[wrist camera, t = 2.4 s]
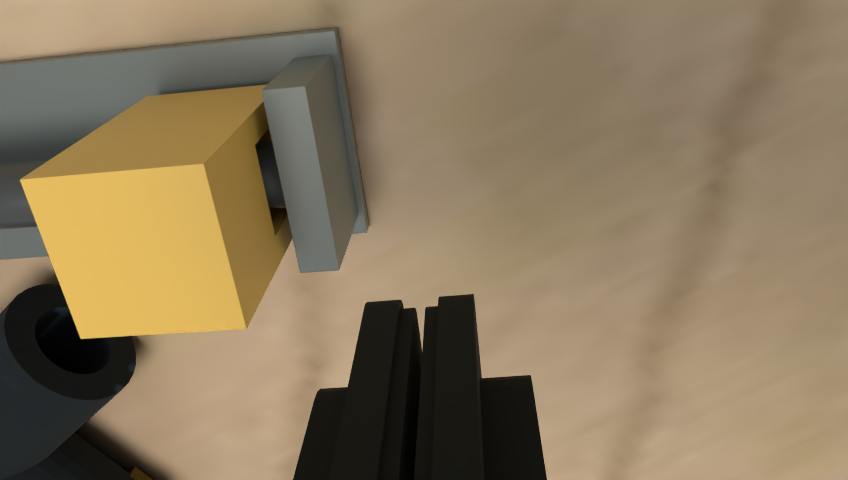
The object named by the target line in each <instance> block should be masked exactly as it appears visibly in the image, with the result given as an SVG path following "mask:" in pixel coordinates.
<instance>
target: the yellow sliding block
mask: <svg viewBox="0 0 848 480" xmlns="http://www.w3.org/2000/svg"><path fill="white" fill-rule="evenodd" d="M265 86H266V85H257V86H247V87H236V88H226V89H216V90H205V91H195V92H185V93H174V94H164V95H154V96H146V97H145V98H143V99H142V100H140V101H139V102H137V103H136V104H134V105H133V106H131V107H130V108H128V109H127V110H125V111H124V112H122V113H120V114H119V115H117V116H116V117H114V118H113V119H111V120H110V121H108V122H107V123H105V124H104V125H102V126H101V127H99V128H98V129H96V130H95V131H93V132H92V133H90V134H88V135H87V136H85V137H84V138H82V139H81V140H79V141H78V142H76V143H75V144H73V145H72V146H70V147H69V148H67V149H66V150H64V151H63V152H61V153H59V154H58V155H56V156H55V157H53V158H52V159H50V160H49V161H47V162H46V163H44V164H43V165H41V166H40V167H38V168H37V169H35V170H34V171H32V172H31V173H29V174H27V175H26V176H24V177H23V178H21V179H20V182H21V184H22V187H23V190H24V192H25V195H26V197H27V200H28V203H29V205H30V208H31V210H32V213H33V216H34V218H35V221H36V223H37V226H38V229H39V231H40V234H41V237H42V239H43V242H44V244H45V247H46V250H47V252H48V255H49V257H50V260H51V263H52V265H53V268H54V270H55V273H56V276H57V278H58V281H59V283H60V286H61V289H62V291H63V294H64V297H65V299H66V302H67V304H68V307H69V310H70V312H71V315H72V317H73V320H74V323H75V325H76V328H77V330H78V333H79V336H80V338H81V339H88V338H104V337H121V336H137V335H154V334H170V333H187V332H204V331H220V330H237V329H247V327H248V325H249V323H250V321H251V319H252V317H253V315H254V313H255V311H256V309H257V307H258V305H259V303H260V301H261V299H262V297H263V295H264V293H265V291H266V289H267V287H268V285H269V283H270V282H271V280H272V278H273V276H274V274H275V272H276V270H277V268H278V266H279V264H280V262H281V260H282V258H283V256H284V254H285V252H286V250H287V248H288V246H289V244H290V242H291V240H292V238H293V237H292V233H291V228H290V223H289V219H288V214H287V209H286V207H283V208H270V209H269V206H268V201H267V197H266V192H265V188H264V184H263V179H262V175H261V170H260V166H259V161H258V157H257V152H256V148H255V144H256V143H257V142H264V141H272V139H271V134H270V129H269V125H268V120H267V115H266V110H265V106H264V101H263V96H262V92H261V90H262V89H263V88H264V87H265Z"/></svg>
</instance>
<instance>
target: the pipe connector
mask: <svg viewBox="0 0 848 480" xmlns="http://www.w3.org/2000/svg"><path fill="white" fill-rule="evenodd" d="M135 365H136V353H135V348H134V343H133V341H132V338H131V336H121V337H104V338H88V339H81V338H80V336H79V333H78V330H77V328H76V325H75V323H74V320H73V317H72V315H71V312H70V310H69V307H68V304H67V302H66V299H65V297H64V294H63V291H62V289H61V286H60V285H54V284H46V285H39V286H35V287H32V288H29V289H26V290H25V291H23V292H22V293H20V294H19V295H17V296H16V297H15V298H14V300H13V301H12V302H11V303H10V304H9V305H8V306H7V307H6V308H5V309H4V310H3V311H2V312H1V314H0V480H152V479H151V478H149V477H148V476H147V475H145V474H144V473H143V472H141V471H140V470H139V469H137V468H136V467H135V468H133V469H132V470H131V471H130V472H129V473H128V472H127V471H126V470H124V469H123V468H122V467H120V466H119V465H117V464H116V463H115V462H113V461H112V460H111V459H109V458H108V457H107V456H105V455H104V454H103V453H101V452H100V451H99V450H97V449H96V448H95V447H93V446H92V445H91V444H89V443H88V442H87V441H85V440H84V439H83V438H81V437H80V436H79V435H77V434H76V433H75V431H77V430H78V429H79V428H80V427H81V426H82V425H83V424H84V423H85V422H87V421H88V420H89V419H90V418H91V417H92V416H93V415H94V414H95V413H96V412H98V411H99V410H100V409H101V408H102V407H103V406H104V405H105V404H106V403H108V402H109V401H110V400H111V399H112V398H113V397H114V396H115V395H116V394H117V393H119V392H120V391H121V390H122V389H123V388H124V387H125V386H126V385H127V384H128V383H129V381H130V379H131V377H132V375H133V373H134V369H135Z"/></svg>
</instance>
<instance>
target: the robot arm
mask: <svg viewBox="0 0 848 480" xmlns="http://www.w3.org/2000/svg"><path fill="white" fill-rule="evenodd" d="M293 480H547V478H546V471H545V464H544V458H543V451H542V445H541V438H540V432H539V425H538V418H537V412H536V405H535V399H534V392H533V385H532V380H531V376H530V375H526V376H511V377H496V378H482V376H481V366H480V355H479V344H478V334H477V323H476V312H475V302H474V294H470V295H457V296H443V297H439V300H438V306H434V307H426V309H425V322H424V337H423V352H422V348H421V340H420V333H419V326H418V318H417V312H416V309H415V308H407V309H404V308H403V303H402V301H401V300H390V301H377V302H367V303H366V304H365V307H364V312H363V317H362V321H361V326H360V331H359V336H358V341H357V345H356V350H355V355H354V360H353V365H352V369H351V374H350V379H349V384H348V387H343V388H328V389H320V390H319V391H318V392H317V394H316V397H315V400H314V403H313V407H312V411H311V415H310V418H309V422H308V426H307V430H306V433H305V437H304V441H303V445H302V448H301V452H300V456H299V460H298V463H297V467H296V471H295V475H294V478H293Z"/></svg>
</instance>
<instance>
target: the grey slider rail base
mask: <svg viewBox="0 0 848 480" xmlns="http://www.w3.org/2000/svg"><path fill="white" fill-rule="evenodd" d="M257 85H266V86H265V87H264V88H263V89H262V90H261V92H262V96H263V101H264V106H265V110H266V115H267V120H268V125H269V129H270V134H271V139H272V141H264V142H257V143H256V144H255V148H256V152H257V157H258V161H259V166H260V170H261V175H262V179H263V184H264V188H265V192H266V197H267V201H268V206H269V209H270V208H283V207H286V209H287V214H288V219H289V223H290V228H291V233H292V237H293V242H294V247H295V252H296V256H297V261H298V266H299V270H300V273H307V272H322V271H337V270H339V269H340V266H341V263H342V260H343V257H344V255H345V252H346V249H347V246H348V243H349V240H350V237H351V234H355V233H367V230H368V227H369V223H368V216H367V210H366V204H365V198H364V191H363V185H362V179H361V173H360V166H359V160H358V154H357V147H356V141H355V135H354V129H353V122H352V116H351V110H350V104H349V97H348V91H347V85H346V78H345V72H344V66H343V60H342V53H341V47H340V41H339V35H338V28H337V27H336V28H326V29H317V30H307V31H298V32H288V33H278V34H269V35H259V36H250V37H240V38H230V39H221V40H211V41H202V42H192V43H183V44H173V45H163V46H154V47H144V48H135V49H125V50H116V51H106V52H96V53H87V54H77V55H68V56H58V57H49V58H39V59H29V60H20V61H10V62H1V63H0V260H2V259H16V258H29V257H43V256H49V255H48V252H47V250H46V247H45V244H44V242H43V239H42V237H41V234H40V231H39V229H38V226H37V223H36V221H35V218H34V216H33V213H32V210H31V208H30V205H29V203H28V200H27V197H26V195H25V192H24V190H23V187H22V184H21V182H20V179H21V178H23V177H24V176H26V175H27V174H29V173H31V172H32V171H34V170H35V169H37V168H38V167H40V166H41V165H43V164H44V163H46V162H47V161H49V160H50V159H52V158H53V157H55V156H56V155H58V154H59V153H61V152H63V151H64V150H66V149H67V148H69V147H70V146H72V145H73V144H75V143H76V142H78V141H79V140H81V139H82V138H84V137H85V136H87V135H88V134H90V133H92V132H93V131H95V130H96V129H98V128H99V127H101V126H102V125H104V124H105V123H107V122H108V121H110V120H111V119H113V118H114V117H116V116H117V115H119V114H120V113H122V112H124V111H125V110H127V109H128V108H130V107H131V106H133V105H134V104H136V103H137V102H139V101H140V100H142V99H143V98H145V97H146V96H154V95H164V94H174V93H185V92H195V91H205V90H216V89H226V88H236V87H247V86H257Z"/></svg>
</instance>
